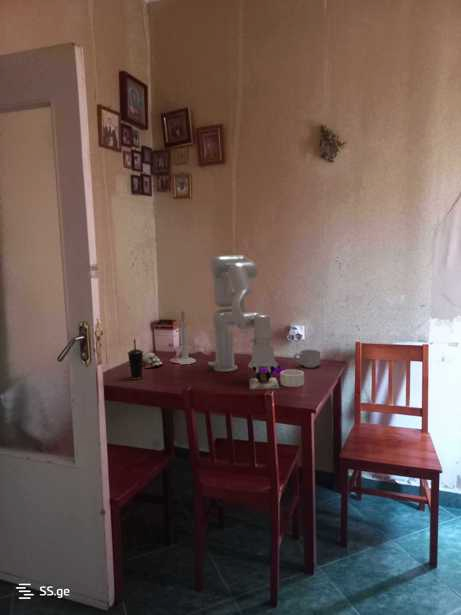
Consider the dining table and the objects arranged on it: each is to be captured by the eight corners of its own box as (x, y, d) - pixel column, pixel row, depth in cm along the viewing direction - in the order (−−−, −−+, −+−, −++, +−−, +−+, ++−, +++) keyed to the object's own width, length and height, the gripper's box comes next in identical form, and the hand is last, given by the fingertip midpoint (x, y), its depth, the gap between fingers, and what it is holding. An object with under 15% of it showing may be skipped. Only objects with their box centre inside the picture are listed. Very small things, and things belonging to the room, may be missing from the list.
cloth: (263, 368, 245) (263, 356, 244) (297, 370, 238) (297, 358, 238) (249, 380, 225) (249, 367, 224) (287, 382, 218) (286, 370, 217)
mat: (249, 391, 206) (249, 388, 205) (249, 382, 218) (249, 380, 218) (279, 390, 205) (279, 388, 205) (276, 381, 218) (276, 379, 218)
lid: (250, 388, 206) (250, 377, 205) (250, 380, 218) (249, 370, 217) (277, 387, 206) (277, 376, 205) (275, 379, 218) (275, 369, 217)
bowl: (281, 389, 207) (281, 376, 206) (279, 382, 217) (279, 369, 216) (305, 388, 206) (305, 375, 205) (302, 381, 217) (301, 369, 216)
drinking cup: (147, 376, 234) (145, 338, 232) (139, 381, 227) (137, 341, 225) (134, 376, 237) (131, 337, 234) (126, 380, 230) (123, 340, 227)
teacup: (319, 363, 248) (319, 349, 247) (321, 369, 237) (321, 353, 236) (293, 364, 249) (293, 349, 248) (294, 369, 238) (294, 354, 237)
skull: (165, 360, 263) (162, 350, 255) (162, 376, 256) (160, 366, 248) (143, 360, 263) (140, 350, 255) (141, 376, 256) (138, 366, 248)
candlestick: (195, 365, 254) (193, 311, 250) (172, 366, 254) (169, 312, 250) (197, 359, 267) (195, 308, 263) (175, 360, 267) (172, 308, 263)
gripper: (244, 343, 206) (245, 383, 208) (281, 342, 205) (282, 382, 208) (244, 340, 213) (245, 378, 216) (280, 338, 213) (280, 377, 215)
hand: (263, 380), depth 212 cm, fingers closed on lid, 3 cm apart
